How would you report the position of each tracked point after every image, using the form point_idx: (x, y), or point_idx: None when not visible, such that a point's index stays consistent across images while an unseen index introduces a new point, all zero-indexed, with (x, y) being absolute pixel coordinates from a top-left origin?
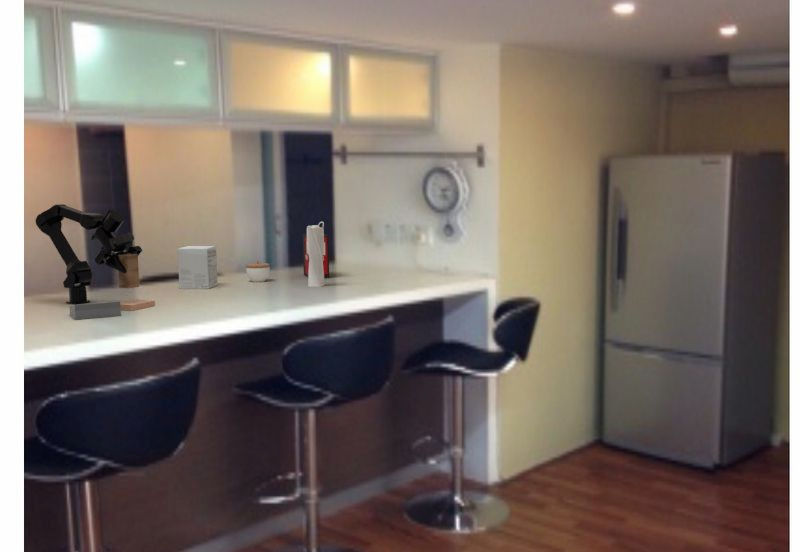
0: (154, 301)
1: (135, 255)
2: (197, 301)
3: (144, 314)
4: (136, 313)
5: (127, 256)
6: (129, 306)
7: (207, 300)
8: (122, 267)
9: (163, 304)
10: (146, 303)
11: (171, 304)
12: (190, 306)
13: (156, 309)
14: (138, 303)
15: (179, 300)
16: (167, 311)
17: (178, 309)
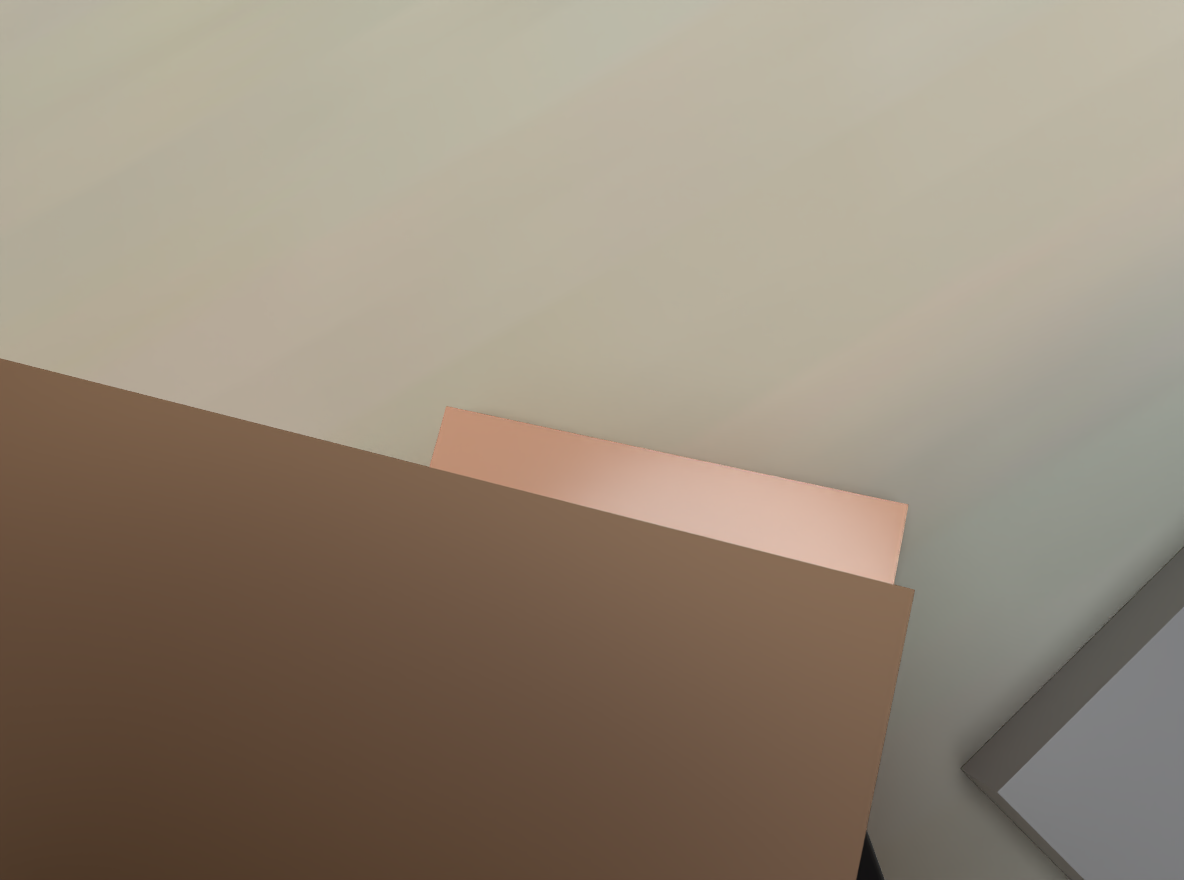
0: (455, 409)
1: (203, 416)
2: (109, 119)
3: (1102, 191)
4: (1063, 331)
5: (895, 609)
6: (899, 538)
7: (40, 56)
8: (868, 850)
9: (345, 381)
10: (602, 443)
11: (335, 286)
12: (443, 7)
13: (714, 257)
14: (725, 490)
15: (48, 354)
16: (820, 55)
17: (661, 17)
